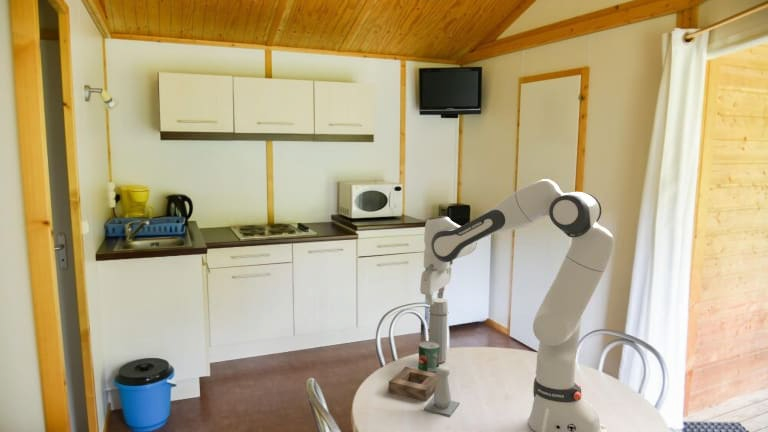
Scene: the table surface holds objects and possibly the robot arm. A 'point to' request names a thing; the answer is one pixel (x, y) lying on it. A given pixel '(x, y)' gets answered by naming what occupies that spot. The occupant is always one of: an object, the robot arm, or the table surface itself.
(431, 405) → the coaster
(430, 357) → the canned tomato
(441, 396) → the salt shaker
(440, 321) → the water bottle
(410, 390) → the socket block
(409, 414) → the table surface
